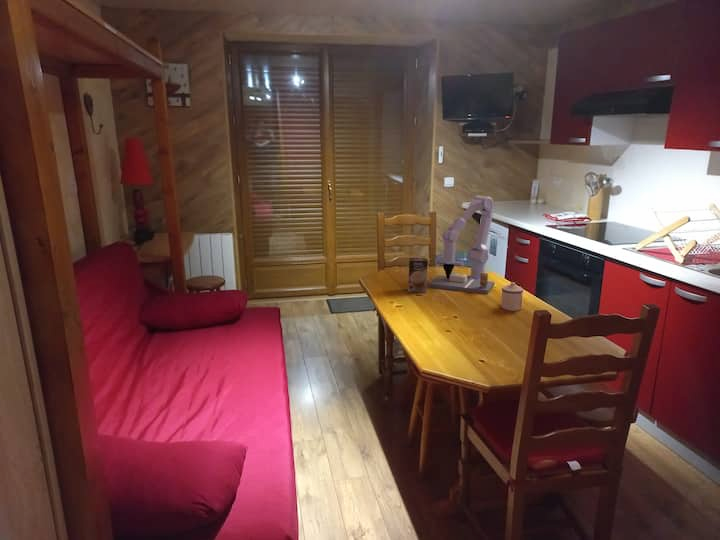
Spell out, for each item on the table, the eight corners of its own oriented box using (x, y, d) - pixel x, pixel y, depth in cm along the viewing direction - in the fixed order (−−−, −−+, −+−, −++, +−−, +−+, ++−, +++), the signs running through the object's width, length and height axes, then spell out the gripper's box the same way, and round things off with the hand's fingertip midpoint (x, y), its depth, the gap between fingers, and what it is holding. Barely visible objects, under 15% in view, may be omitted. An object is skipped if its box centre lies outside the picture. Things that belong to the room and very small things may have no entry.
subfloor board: (437, 278, 264) (437, 275, 264) (494, 285, 251) (494, 281, 251) (428, 286, 250) (428, 283, 250) (487, 294, 238) (487, 290, 237)
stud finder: (452, 278, 258) (452, 272, 257) (467, 280, 254) (467, 274, 254) (449, 280, 253) (449, 274, 253) (464, 282, 250) (465, 276, 249)
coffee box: (408, 292, 242) (408, 260, 238) (408, 288, 248) (408, 257, 244) (426, 292, 241) (427, 261, 237) (426, 288, 247) (427, 257, 243)
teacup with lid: (524, 311, 214) (526, 285, 211) (503, 311, 214) (505, 286, 211) (516, 302, 226) (518, 278, 223) (496, 302, 226) (497, 278, 223)
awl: (480, 286, 244) (481, 272, 242) (487, 286, 243) (488, 273, 241) (478, 287, 241) (479, 274, 239) (486, 288, 239) (487, 274, 238)
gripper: (433, 252, 252) (432, 278, 256) (461, 255, 246) (460, 281, 249) (437, 250, 258) (436, 275, 262) (464, 252, 252) (463, 278, 256)
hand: (448, 278), depth 256 cm, fingers closed
